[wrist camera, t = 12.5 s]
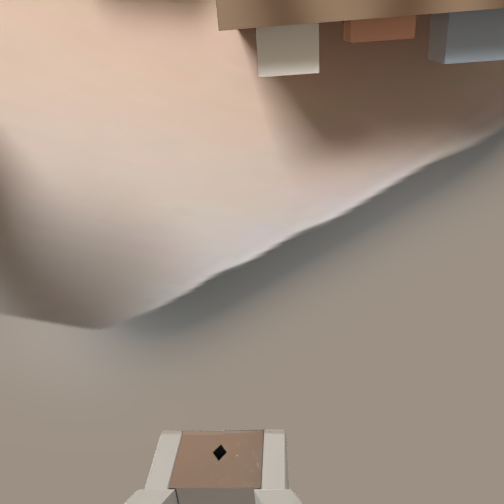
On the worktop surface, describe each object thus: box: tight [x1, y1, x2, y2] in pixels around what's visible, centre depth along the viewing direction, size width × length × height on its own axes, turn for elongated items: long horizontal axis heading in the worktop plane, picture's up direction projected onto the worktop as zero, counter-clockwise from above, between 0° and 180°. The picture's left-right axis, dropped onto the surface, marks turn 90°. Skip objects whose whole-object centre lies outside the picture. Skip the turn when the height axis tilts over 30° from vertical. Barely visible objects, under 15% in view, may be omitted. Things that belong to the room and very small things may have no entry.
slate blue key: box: [427, 8, 504, 64], centre depth 31 cm, size 4×6×4 cm, turn 4°
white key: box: [256, 23, 319, 77], centre depth 32 cm, size 4×6×4 cm, turn 4°
